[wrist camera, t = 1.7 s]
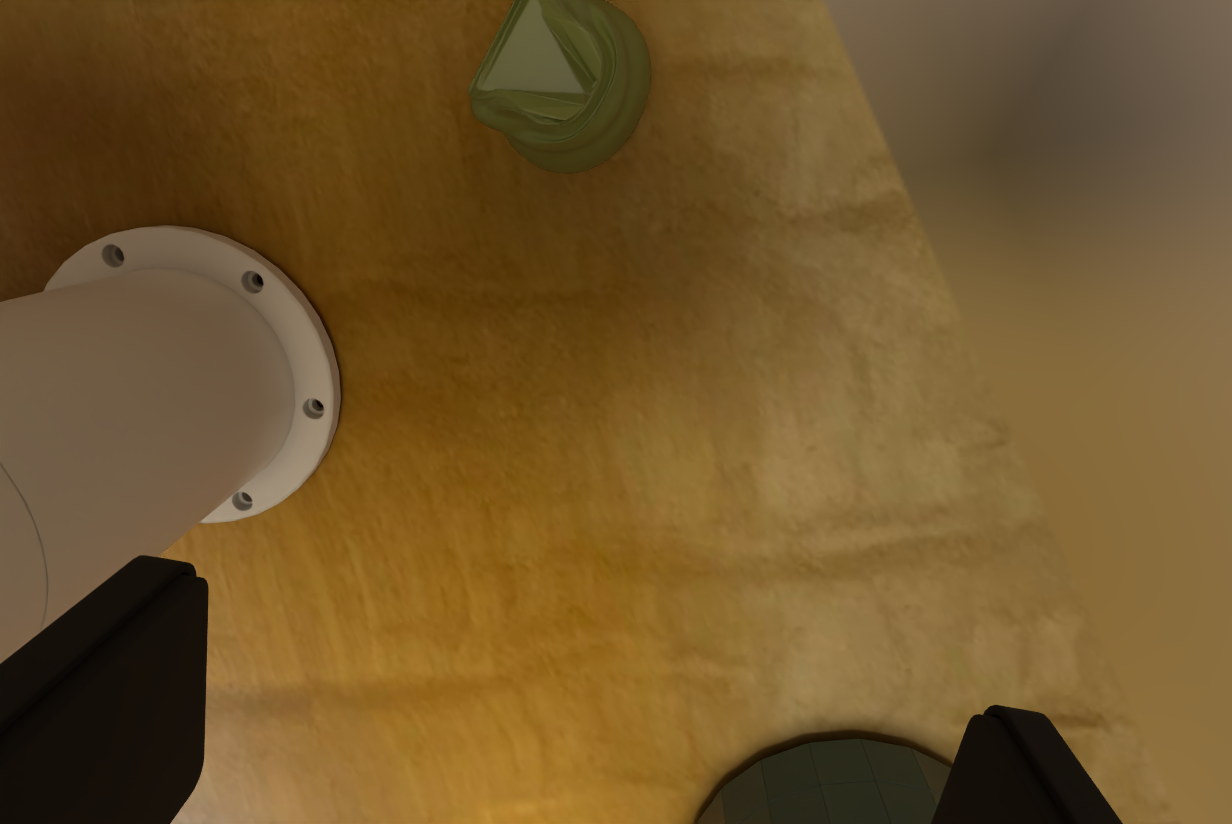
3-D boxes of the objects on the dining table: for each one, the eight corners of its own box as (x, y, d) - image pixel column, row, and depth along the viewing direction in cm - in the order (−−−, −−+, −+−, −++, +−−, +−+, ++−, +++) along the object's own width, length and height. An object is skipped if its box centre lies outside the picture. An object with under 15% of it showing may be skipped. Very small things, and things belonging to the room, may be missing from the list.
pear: (595, 195, 32) (573, 214, 22) (477, 117, 31) (402, 102, 22) (676, 64, 30) (689, 24, 21) (554, -22, 30) (509, -104, 20)
